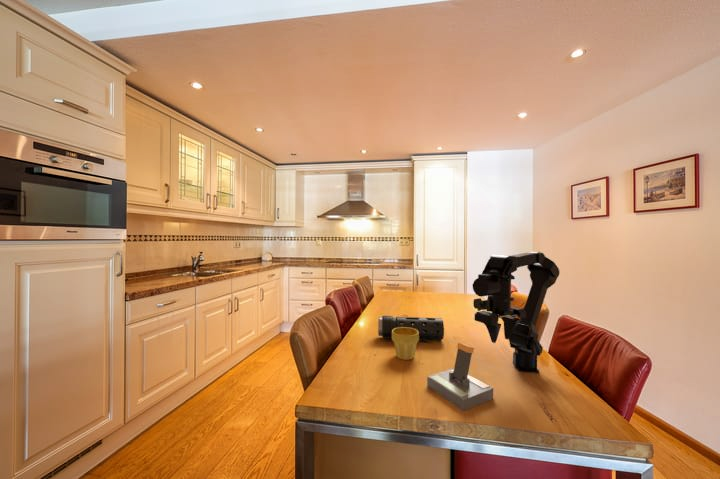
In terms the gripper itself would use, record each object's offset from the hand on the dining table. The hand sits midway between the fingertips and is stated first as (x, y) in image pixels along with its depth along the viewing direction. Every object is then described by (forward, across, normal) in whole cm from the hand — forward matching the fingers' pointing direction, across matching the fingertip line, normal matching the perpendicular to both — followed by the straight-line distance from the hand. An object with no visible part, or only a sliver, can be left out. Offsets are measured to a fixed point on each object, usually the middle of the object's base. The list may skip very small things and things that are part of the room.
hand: (500, 340), depth 92 cm
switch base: (+12, +19, 0) cm, 22 cm away
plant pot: (+12, +18, -27) cm, 35 cm away
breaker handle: (+9, +19, 0) cm, 21 cm away
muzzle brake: (+12, +5, -40) cm, 42 cm away
